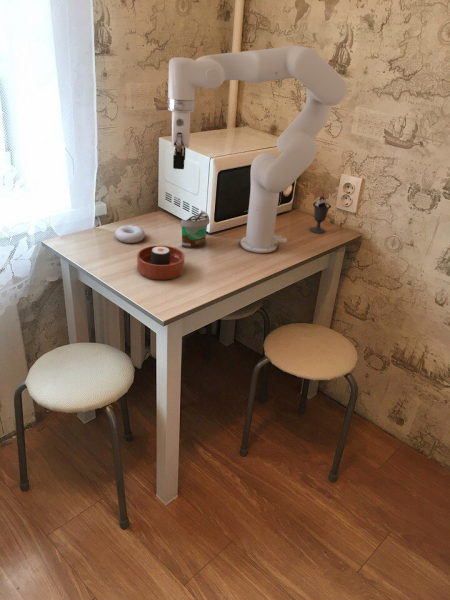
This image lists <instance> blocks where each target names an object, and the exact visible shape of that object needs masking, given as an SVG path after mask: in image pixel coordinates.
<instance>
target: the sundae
mask: <svg viewBox="0 0 450 600" xmlns="http://www.w3.org/2000/svg"><path fill="white" fill-rule="evenodd" d="M321 192H322V195H320V198H318V200H317V201H315V202H313V203H312V207H314V208H313V209H314V213H313V215H314V216H313V217H314V220H315V221H316V227H311V229H310V230H311V232H312V233H315V234H323V233H324V232H325V230H324V229H323V228H321V223H323V222H324V221H325V220H326V218H327V217H328V216H327V215H328V213H329V210H330V209H331V208H332V205H331V204H330V203H328V201H327V199H326V198H325V193H324V190H321Z"/></svg>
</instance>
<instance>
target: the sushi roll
mask: <svg viewBox="0 0 450 600" xmlns="http://www.w3.org/2000/svg"><path fill="white" fill-rule="evenodd" d="M151 264H154V265H170V249H168V248H166V247H161V246H160V247H154V248H153V249H152V250H151Z"/></svg>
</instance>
